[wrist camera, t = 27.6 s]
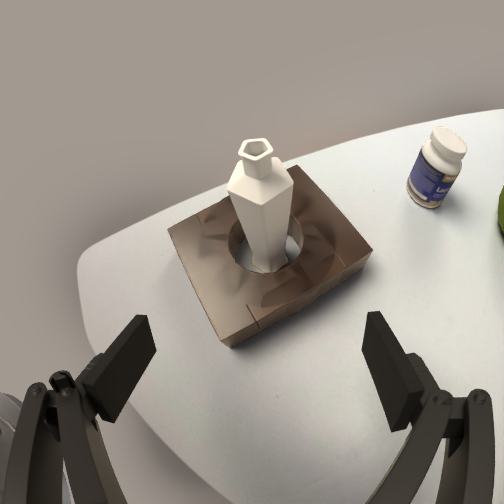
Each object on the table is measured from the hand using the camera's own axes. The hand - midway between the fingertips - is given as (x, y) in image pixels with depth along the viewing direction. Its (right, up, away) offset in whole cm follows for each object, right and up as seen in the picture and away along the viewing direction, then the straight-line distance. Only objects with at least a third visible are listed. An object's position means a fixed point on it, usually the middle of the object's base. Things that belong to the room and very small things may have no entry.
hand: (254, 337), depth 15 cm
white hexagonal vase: (+2, +4, +14) cm, 15 cm away
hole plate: (+2, +4, +14) cm, 15 cm away
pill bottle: (+23, +13, +16) cm, 31 cm away
